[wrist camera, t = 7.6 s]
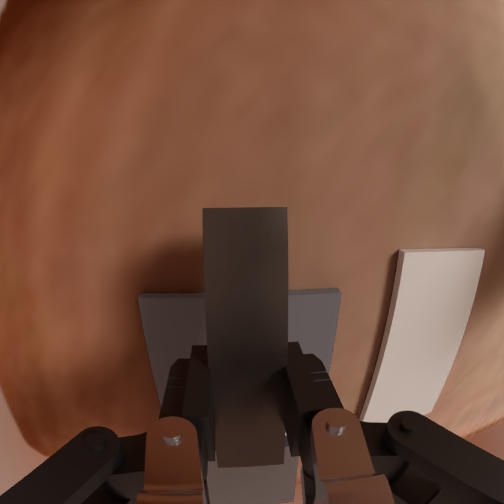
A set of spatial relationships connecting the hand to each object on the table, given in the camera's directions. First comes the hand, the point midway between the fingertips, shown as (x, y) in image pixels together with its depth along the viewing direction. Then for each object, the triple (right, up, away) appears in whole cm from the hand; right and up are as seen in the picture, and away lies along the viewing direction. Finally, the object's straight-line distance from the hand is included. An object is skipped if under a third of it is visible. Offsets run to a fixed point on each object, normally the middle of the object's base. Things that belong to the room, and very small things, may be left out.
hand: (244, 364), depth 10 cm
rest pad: (+12, -2, +7) cm, 14 cm away
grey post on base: (0, -1, +1) cm, 1 cm away
